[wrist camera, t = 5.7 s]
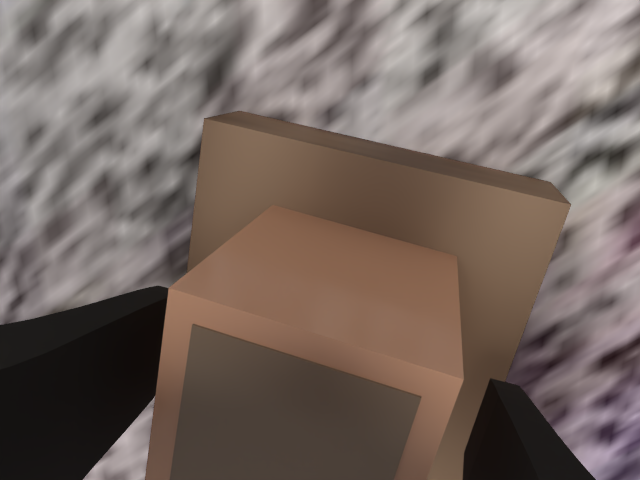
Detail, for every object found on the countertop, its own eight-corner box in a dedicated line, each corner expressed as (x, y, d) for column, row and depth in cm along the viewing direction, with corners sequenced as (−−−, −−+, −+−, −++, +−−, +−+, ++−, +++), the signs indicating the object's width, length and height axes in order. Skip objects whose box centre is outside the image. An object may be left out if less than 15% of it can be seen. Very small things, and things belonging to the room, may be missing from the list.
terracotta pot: (243, 360, 15) (140, 509, 10) (272, 205, 14) (167, 288, 8) (404, 412, 15) (382, 600, 9) (457, 256, 13) (464, 381, 8)
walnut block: (211, 358, 19) (171, 408, 16) (245, 109, 16) (204, 118, 13) (457, 433, 18) (460, 501, 15) (547, 178, 15) (570, 204, 12)
